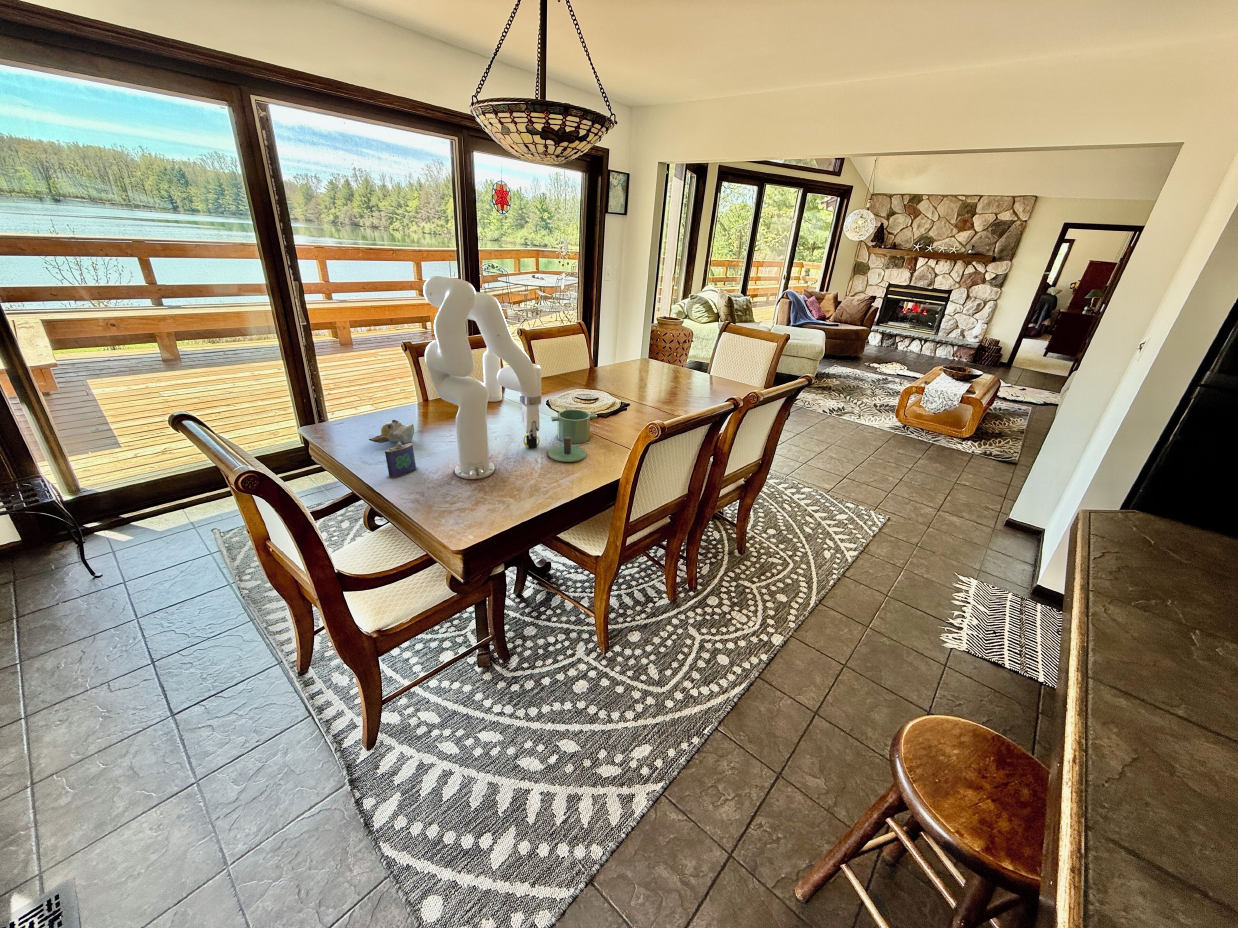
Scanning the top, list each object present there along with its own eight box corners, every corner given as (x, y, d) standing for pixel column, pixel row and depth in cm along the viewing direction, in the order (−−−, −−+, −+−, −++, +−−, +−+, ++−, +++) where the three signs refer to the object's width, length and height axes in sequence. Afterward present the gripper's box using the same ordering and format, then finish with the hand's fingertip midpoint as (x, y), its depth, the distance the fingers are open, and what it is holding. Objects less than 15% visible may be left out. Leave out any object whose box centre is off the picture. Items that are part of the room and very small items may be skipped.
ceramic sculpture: (406, 425, 168) (364, 425, 168) (410, 448, 172) (369, 447, 172) (418, 415, 178) (378, 415, 178) (422, 437, 181) (383, 436, 182)
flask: (413, 466, 159) (409, 437, 154) (418, 469, 158) (414, 439, 153) (387, 476, 152) (382, 445, 148) (392, 479, 151) (387, 448, 146)
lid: (590, 461, 172) (591, 443, 168) (553, 465, 167) (553, 446, 164) (579, 446, 183) (580, 429, 180) (544, 449, 178) (544, 431, 175)
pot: (600, 441, 188) (601, 418, 184) (555, 445, 182) (555, 422, 178) (590, 429, 199) (591, 408, 195) (547, 433, 193) (547, 410, 189)
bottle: (505, 399, 228) (503, 335, 215) (493, 403, 222) (490, 337, 209) (493, 395, 231) (490, 332, 218) (481, 399, 225) (477, 334, 212)
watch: (540, 446, 181) (540, 431, 178) (539, 449, 178) (539, 434, 176) (524, 445, 180) (523, 430, 178) (523, 448, 178) (522, 433, 175)
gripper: (516, 392, 177) (517, 438, 185) (524, 407, 163) (525, 456, 171) (536, 391, 179) (537, 437, 187) (546, 405, 166) (546, 454, 174)
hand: (531, 445), depth 179 cm, fingers closed on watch, 2 cm apart
